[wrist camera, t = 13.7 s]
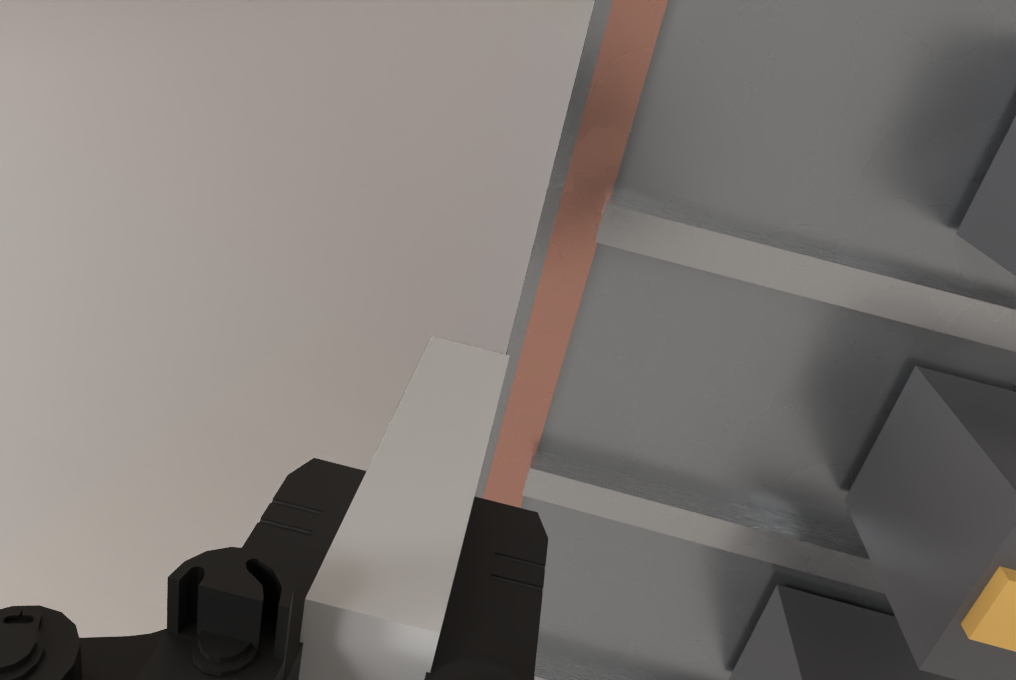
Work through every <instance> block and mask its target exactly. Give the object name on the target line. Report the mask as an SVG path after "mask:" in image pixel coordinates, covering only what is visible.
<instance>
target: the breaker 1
mask: <svg viewBox="0 0 1016 680" xmlns="http://www.w3.org/2000/svg"><path fill="white" fill-rule="evenodd" d="M729 680H955V679H951V678H948V677H944V676H941V675H937V674H933V673H930V672H926V671H922V670H919V668H918V666H917V664H916V662H915V659H914V657H913V655H912V653H911V650H910V648H909V646H908V644H907V641H906V639H905V637H904V635H903V632H902V630H901V628H900V626H899V623H898V621H897V619H896V617H894V616H891V615H887V614H883V613H880V612H876V611H872V610H869V609H865V608H861V607H857V606H854V605H850V604H846V603H843V602H839V601H835V600H832V599H828V598H824V597H821V596H817V595H813V594H810V593H806V592H802V591H799V590H795V589H791V588H788V587H784V586H780V585H776V587H775V589H774V591H773V593H772V595H771V597H770V599H769V601H768V603H767V605H766V607H765V609H764V611H763V613H762V615H761V617H760V619H759V621H758V623H757V625H756V627H755V629H754V631H753V633H752V635H751V637H750V638H749V640H748V642H747V644H746V646H745V648H744V650H743V652H742V654H741V656H740V658H739V660H738V662H737V664H736V666H735V668H734V670H733V672H732V674H731V676H730V678H729Z"/></svg>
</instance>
